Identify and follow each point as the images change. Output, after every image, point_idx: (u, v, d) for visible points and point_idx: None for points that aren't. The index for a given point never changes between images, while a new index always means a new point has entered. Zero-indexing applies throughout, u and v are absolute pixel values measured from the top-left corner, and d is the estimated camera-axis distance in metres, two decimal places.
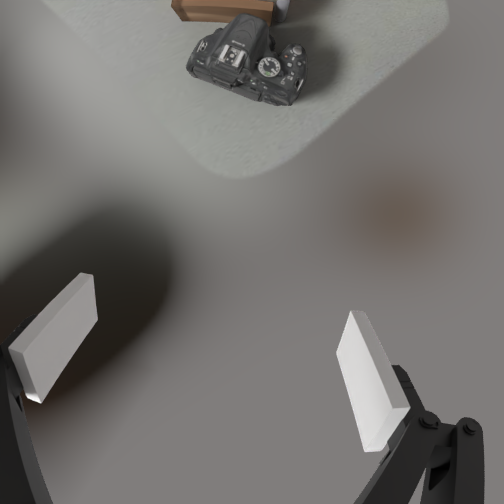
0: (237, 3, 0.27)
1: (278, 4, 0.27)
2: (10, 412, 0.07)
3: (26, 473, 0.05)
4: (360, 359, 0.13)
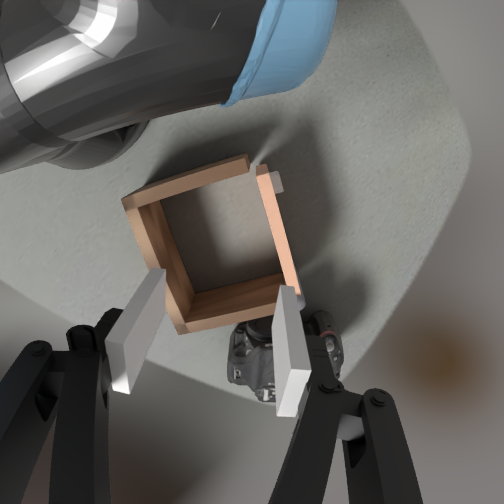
0: (247, 315, 0.30)
1: None
2: (94, 412, 0.08)
3: (94, 476, 0.06)
4: (280, 328, 0.15)
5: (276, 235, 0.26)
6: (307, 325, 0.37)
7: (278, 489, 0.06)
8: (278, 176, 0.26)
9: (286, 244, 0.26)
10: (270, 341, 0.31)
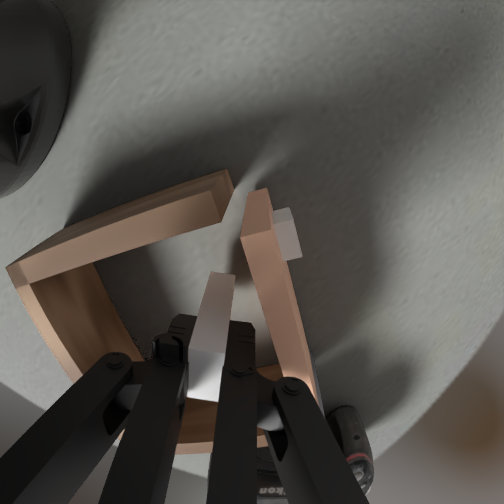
0: None
1: None
2: (168, 425, 0.08)
3: (153, 491, 0.06)
4: None
5: (285, 356, 0.12)
6: None
7: (209, 481, 0.06)
8: (292, 225, 0.12)
9: (304, 369, 0.12)
10: (268, 474, 0.17)
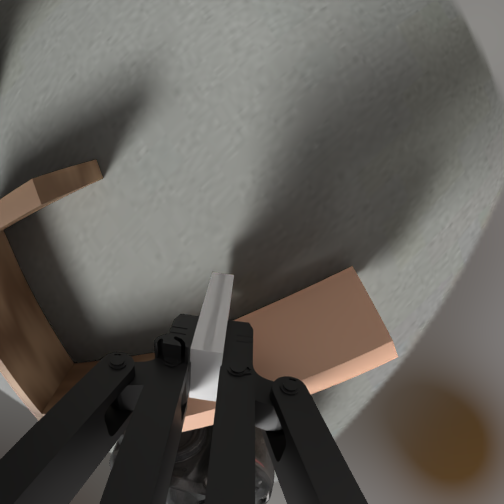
0: None
1: None
2: (170, 426, 0.08)
3: (154, 491, 0.06)
4: None
5: None
6: None
7: (207, 481, 0.06)
8: None
9: None
10: None
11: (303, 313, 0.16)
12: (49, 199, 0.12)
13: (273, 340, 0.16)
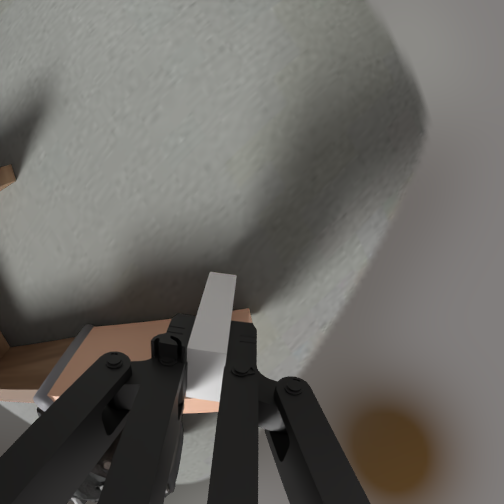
0: (19, 397, 0.16)
1: (45, 379, 0.15)
2: (167, 425, 0.08)
3: (152, 491, 0.06)
4: None
5: None
6: None
7: (210, 481, 0.06)
8: None
9: None
10: None
11: None
12: None
13: None
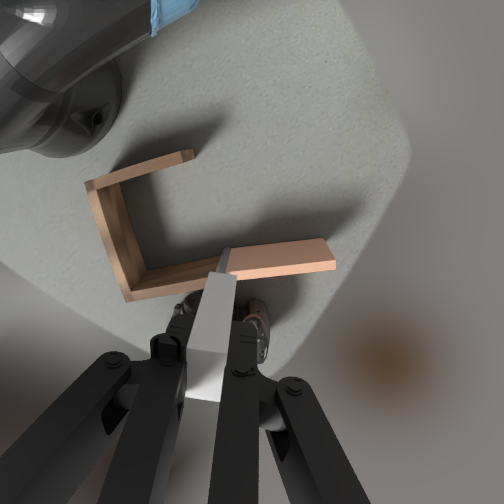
0: (182, 288, 0.34)
1: (217, 268, 0.33)
2: (166, 425, 0.08)
3: (151, 490, 0.06)
4: None
5: (285, 268, 0.32)
6: (242, 311, 0.41)
7: (211, 481, 0.06)
8: None
9: (276, 274, 0.32)
10: None
11: (297, 247, 0.36)
12: (184, 161, 0.30)
13: (282, 253, 0.35)
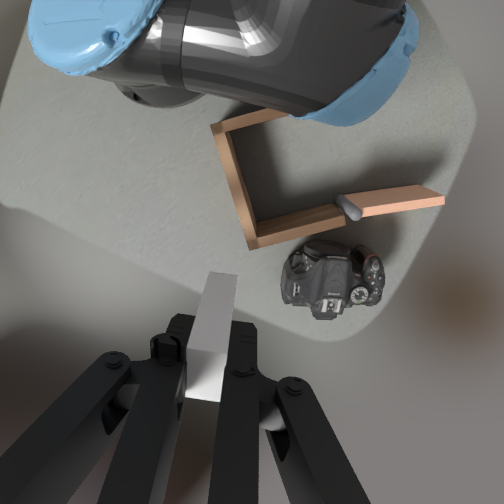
0: (312, 229, 0.35)
1: (347, 207, 0.34)
2: (166, 425, 0.08)
3: (152, 490, 0.06)
4: None
5: (408, 203, 0.33)
6: None
7: (211, 481, 0.06)
8: None
9: (401, 209, 0.33)
10: None
11: (404, 190, 0.37)
12: None
13: (395, 194, 0.36)
